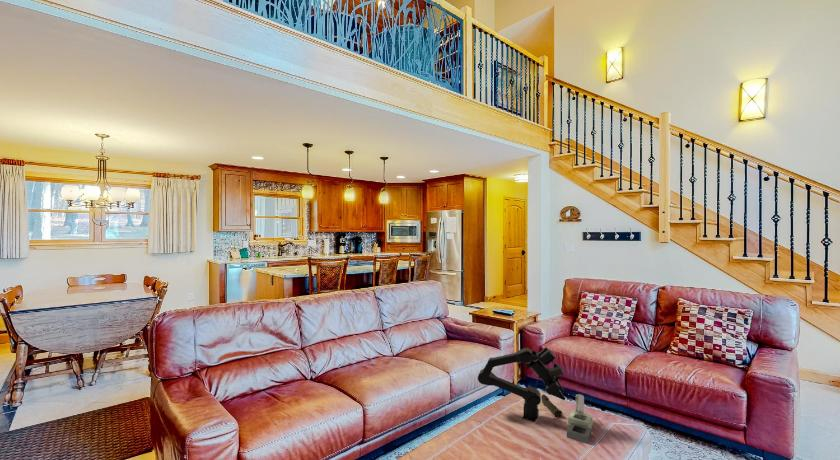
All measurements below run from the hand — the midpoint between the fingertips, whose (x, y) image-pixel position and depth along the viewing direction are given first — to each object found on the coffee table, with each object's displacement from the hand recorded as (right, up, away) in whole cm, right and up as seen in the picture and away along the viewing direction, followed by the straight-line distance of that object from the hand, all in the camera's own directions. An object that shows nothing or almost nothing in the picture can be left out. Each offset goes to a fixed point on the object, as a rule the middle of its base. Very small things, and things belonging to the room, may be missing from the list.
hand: (564, 395), depth 188 cm
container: (+7, -13, -2) cm, 15 cm away
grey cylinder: (+7, -12, -2) cm, 14 cm away
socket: (+2, -13, -12) cm, 18 cm away
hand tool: (-3, -14, +14) cm, 20 cm away
